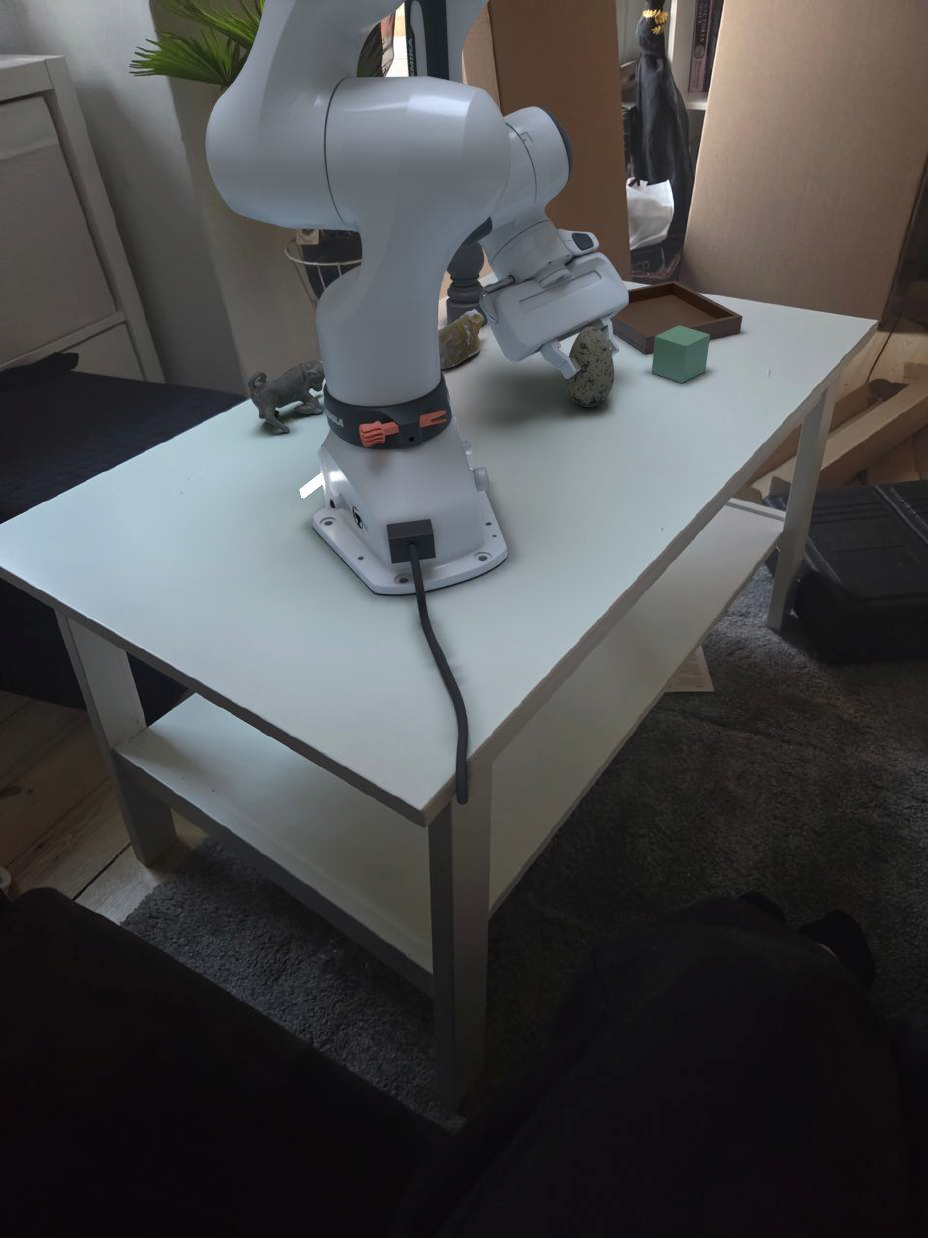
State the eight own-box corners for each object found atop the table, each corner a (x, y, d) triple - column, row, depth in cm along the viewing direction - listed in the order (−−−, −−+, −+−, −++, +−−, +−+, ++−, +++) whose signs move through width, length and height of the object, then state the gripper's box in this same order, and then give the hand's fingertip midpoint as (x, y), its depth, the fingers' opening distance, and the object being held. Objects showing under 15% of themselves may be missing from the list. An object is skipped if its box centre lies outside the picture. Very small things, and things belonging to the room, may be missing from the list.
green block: (705, 371, 111) (710, 334, 108) (682, 383, 109) (686, 346, 106) (675, 361, 114) (678, 324, 111) (651, 372, 112) (654, 336, 109)
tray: (740, 332, 121) (742, 315, 119) (645, 354, 117) (646, 337, 115) (673, 295, 133) (674, 280, 132) (585, 313, 130) (586, 298, 128)
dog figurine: (275, 439, 104) (262, 382, 99) (247, 426, 107) (233, 370, 102) (347, 403, 110) (339, 348, 105) (319, 392, 113) (309, 338, 109)
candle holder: (494, 318, 130) (488, 135, 114) (473, 332, 127) (464, 144, 111) (461, 312, 133) (450, 132, 117) (439, 325, 129) (425, 142, 113)
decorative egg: (602, 391, 109) (606, 314, 102) (619, 411, 104) (624, 332, 98) (558, 398, 108) (559, 321, 101) (573, 419, 103) (575, 339, 97)
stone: (399, 326, 112) (467, 285, 121) (396, 366, 117) (461, 324, 126) (440, 350, 110) (506, 307, 119) (435, 390, 115) (499, 346, 124)
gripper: (485, 274, 93) (551, 381, 94) (602, 229, 104) (660, 326, 104) (460, 306, 99) (522, 406, 100) (573, 260, 109) (629, 352, 110)
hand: (594, 365), depth 102 cm, fingers closed on decorative egg, 6 cm apart
